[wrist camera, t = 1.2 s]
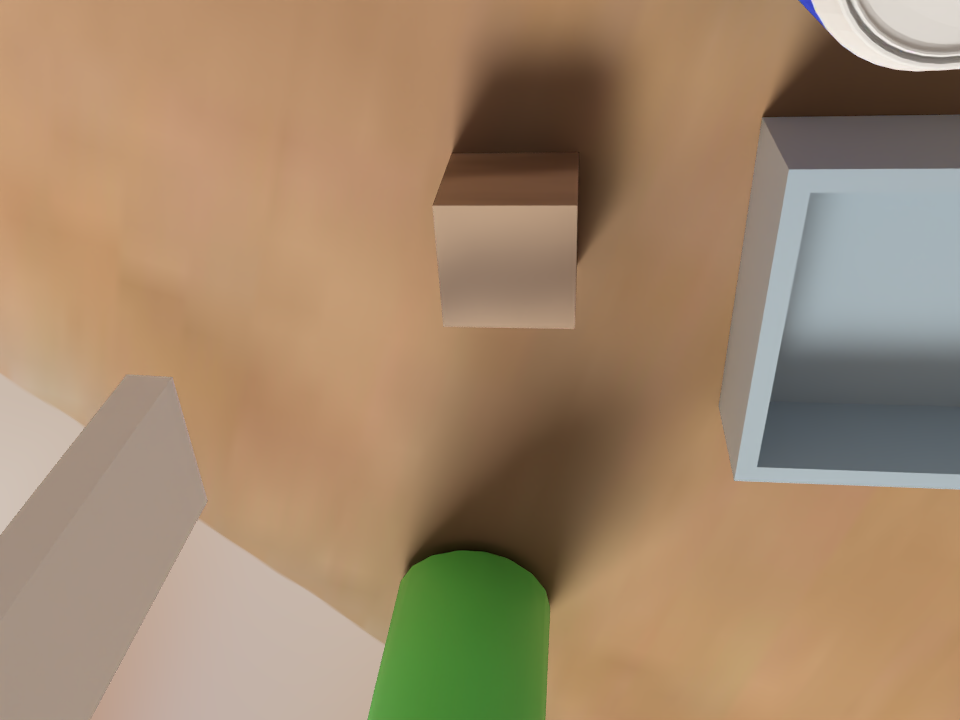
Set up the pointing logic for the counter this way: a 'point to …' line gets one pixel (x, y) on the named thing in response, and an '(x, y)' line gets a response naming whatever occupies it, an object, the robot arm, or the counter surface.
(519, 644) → the bottle
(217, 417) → the counter surface
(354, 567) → the counter surface
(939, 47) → the beverage can
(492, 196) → the walnut cube
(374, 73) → the counter surface
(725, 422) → the box
